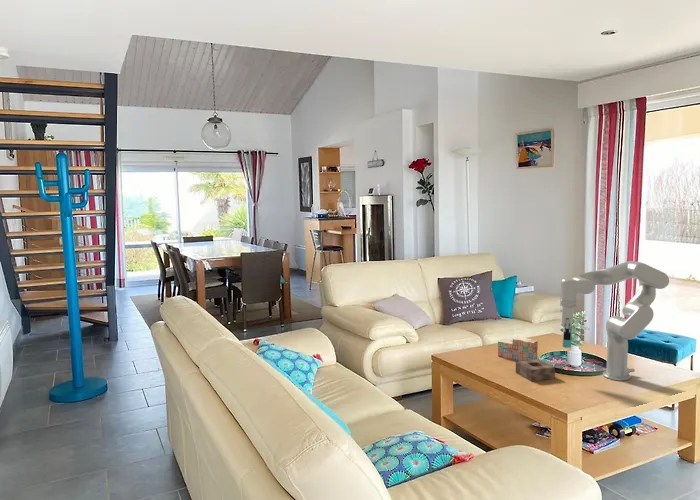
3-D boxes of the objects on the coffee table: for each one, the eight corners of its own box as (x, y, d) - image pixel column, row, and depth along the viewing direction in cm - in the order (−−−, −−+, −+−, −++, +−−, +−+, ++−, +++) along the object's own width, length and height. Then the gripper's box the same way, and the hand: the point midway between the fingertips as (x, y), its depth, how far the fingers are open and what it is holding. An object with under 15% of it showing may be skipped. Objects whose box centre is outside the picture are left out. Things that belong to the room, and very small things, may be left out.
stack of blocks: (497, 356, 312) (497, 336, 311) (502, 354, 316) (502, 334, 315) (532, 364, 297) (533, 342, 296) (537, 361, 302) (537, 340, 301)
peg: (567, 345, 273) (568, 322, 271) (572, 347, 269) (573, 324, 268) (560, 345, 271) (561, 322, 270) (566, 348, 268) (566, 324, 266)
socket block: (538, 369, 287) (538, 359, 286) (554, 378, 274) (555, 367, 273) (515, 372, 283) (515, 361, 283) (531, 381, 270) (531, 370, 269)
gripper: (561, 299, 277) (559, 334, 279) (559, 305, 262) (558, 342, 264) (576, 300, 274) (575, 335, 276) (576, 307, 259) (574, 343, 261)
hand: (567, 338), depth 270 cm, fingers closed on peg, 4 cm apart
